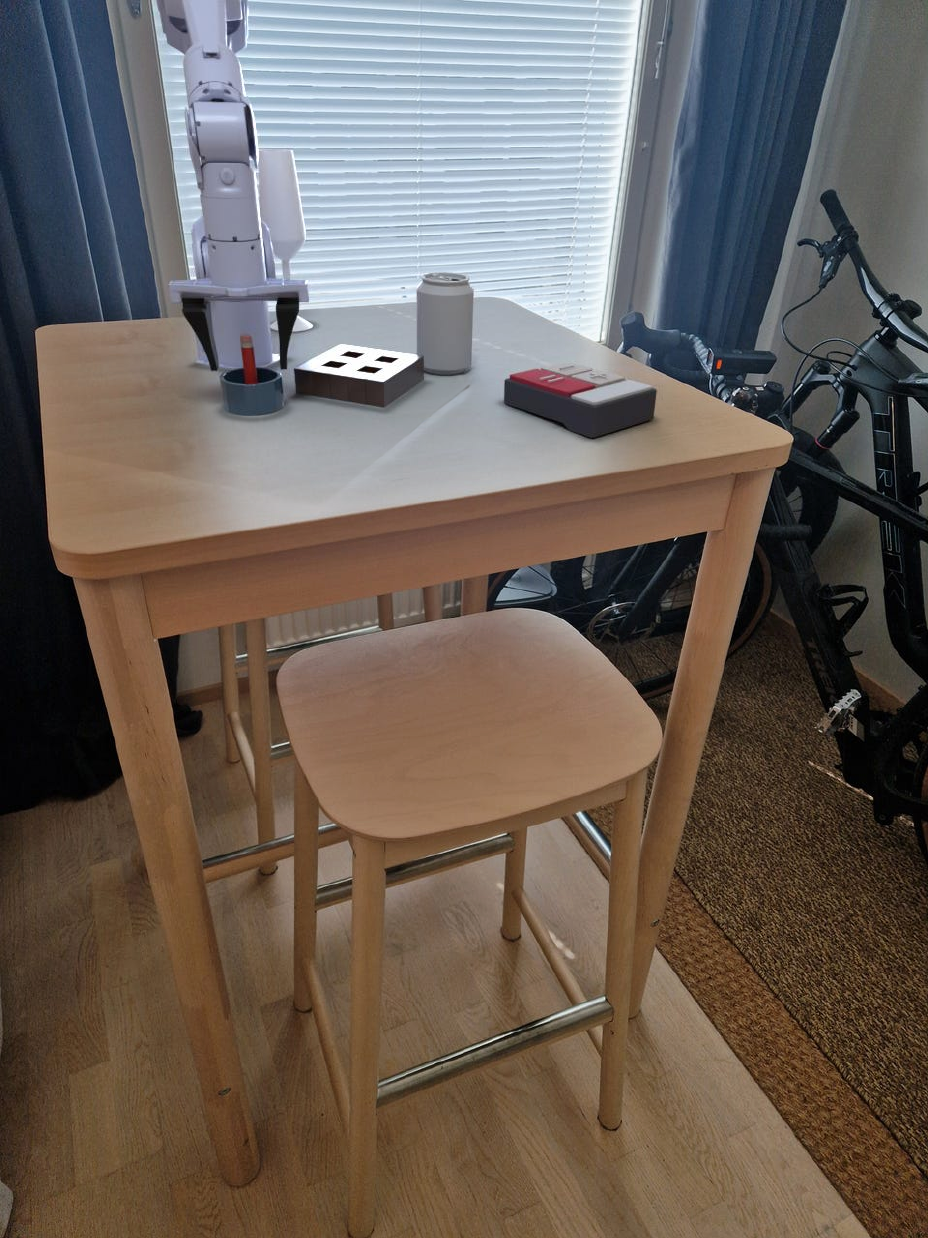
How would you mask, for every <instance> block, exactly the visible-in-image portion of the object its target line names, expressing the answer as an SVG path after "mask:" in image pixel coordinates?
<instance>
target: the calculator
mask: <svg viewBox="0 0 928 1238" xmlns="http://www.w3.org/2000/svg"><path fill="white" fill-rule="evenodd" d="M503 382H504V385H503V403H504V404H505V405H508V406H511V407H514V408H517V409H520V410H523V411H525V412H529V413H531V414H535V415H538V416H540V417H544V418H547V419H550V420H553V421H556V422H559V423H562V425H564V426H565V428H566V429H567V430H568V431H570V432H572V433H576V434H578V435H581V436H585V437H588V438H590V439H591V438H592V439H593V438H597V437H601V436H603V435H604V436H605V435H607V434H610V433H613V432H617V431H619V430H623V429H626V428H628V427H632V426H635V425H638V424H641V423H645V422H648V421H651V420H653V419H654V418H655V409H656V401H657V393H658V389H656V387H655V388H654V387H653V386H652V385H650V384H647V383H643V382H639V381H635V380H632V379H627V380H626V377H625V376H622V375H619V374H615V373H612V372H608V371H603V370H601V369H600V370H599V369H593V368H591V367H588V366H584V365H581V364H578V363H577V364H576V363H573V362H569V361H563V362H559V363H554V364H549V365H546V366H542V367H540V368H532V369H528V370H524V371H520V372H516V373H511V374H510V375H509V377H508V378H505V379H504V381H503Z"/></svg>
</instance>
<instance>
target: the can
mask: <svg viewBox="0 0 928 1238" xmlns="http://www.w3.org/2000/svg"><path fill="white" fill-rule="evenodd" d="M420 278H421V279H422V281H421V282H420V283H419V284H418V286H416V355H421V356H424V372H426V373H428V374H433V375H440V376H452V375H458V374H461V373H464V372H465V371H466V369H467V368H468V367H470V366H471V365H472V354H473V350H472V349H473V348H472V347H473V326H474V325H473V323H474V322H473V321H474V293H475V289H474V287H472V285H471V284H470V277H469V275H467V274H463V273H460V272H453V271H452V272H450V271H436V272H428V273H424V274H422V275H421V277H420Z"/></svg>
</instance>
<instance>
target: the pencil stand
mask: <svg viewBox="0 0 928 1238" xmlns="http://www.w3.org/2000/svg"><path fill="white" fill-rule="evenodd" d="M293 376H294V377H293V378H294V386H295V394H298V395H304V396H308V397H309V396H310V397H315V398H322V399H329V400H335V401H339V402H341V401H342V402H347V403H353V404H360V405H365V406H370V407H371V406H372V407H378V408H383V409H385V408H386V407H387V406H389V405H390V404H392V403H393V402H395V401H396V400H398V398H401V396H403V395H404V394H405V393H407V392H409V391H410V390H412V389H413V388H415V387H416V386H417V385H418V384H420V383H422V382H423V381H424V380H425V371H424V356H421V355H417V354H414V353H405V352H398V351H392V350H384V349H378V348H377V349H376V348H371V347H363V346H356V345H349V344H342V343H341V344H338V345H337V346H335V347H333V348H331V349H329V350H327V351H325V352H323V353H321V354H319V355H318V356H315V357H313V358H312V359H309V360H307V361H305V362H303V363H302V364H299V365H298V366H296V367H294V368H293Z"/></svg>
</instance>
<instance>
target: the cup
mask: <svg viewBox="0 0 928 1238" xmlns="http://www.w3.org/2000/svg"><path fill="white" fill-rule="evenodd" d="M256 372H257V380H258V383H257V384H245V376H244V368H236V369H228V370H226V371H224V372H222V373H221V374H220V375H219V383H220V392H221V399H222V405H223V409H224V411H226V412H227V413H229V414H231V415H237V416H242V417H259V416H266V415H271V414H274V413H277V412H280V411H281V410H283V409H284V407H285V394H284V386H283V385H284V384H283V376H282V373H281V372H280V371H279V370H277V369H275V368H271V367H256Z"/></svg>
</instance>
